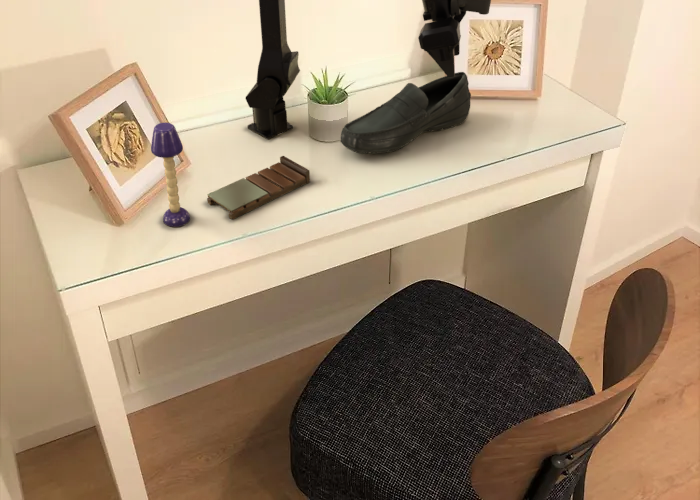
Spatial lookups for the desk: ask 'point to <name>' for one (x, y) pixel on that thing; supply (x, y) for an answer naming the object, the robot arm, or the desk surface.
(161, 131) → the toy lamp
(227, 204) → the toy bed
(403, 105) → the loafer
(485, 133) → the desk surface
